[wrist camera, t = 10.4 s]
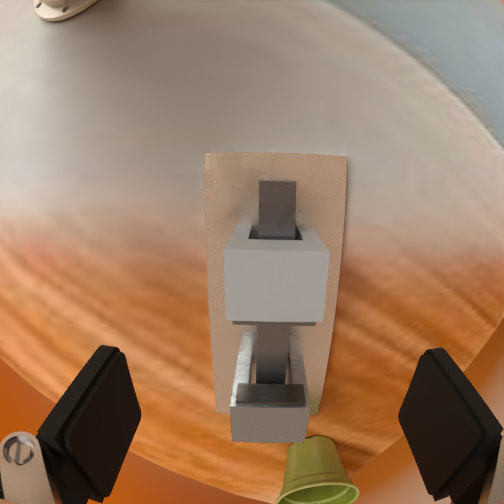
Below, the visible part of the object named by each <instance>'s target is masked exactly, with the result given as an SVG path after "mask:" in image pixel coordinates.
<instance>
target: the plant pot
mask: <svg viewBox="0 0 504 504" xmlns="http://www.w3.org/2000/svg"><path fill="white" fill-rule="evenodd" d="M358 496H359V488H358V487H357V486H356V485H354V484H353V482H352V481H351V479H350V478H349V477H348V475H347V473H346V470H345V468H344V466H343V463H342V461H341V458H340V456H339V453H338V451H337V448H336V445H335V443H334V442H333V440H331V439H330V438H327V437H323V436H314V437H312V438H307V439H305V440H304V442H302V443H293V444H292V445H291V446H290V447H289V448H288V452H287V461H286V469H285V476H284V483H283V489H282V490H281V492H280V496H279V497H278V498H277V500H276V504H352V503H353V502H354V501H355V500H356V499H357V498H358Z"/></svg>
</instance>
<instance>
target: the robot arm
mask: <svg viewBox="0 0 504 504" xmlns="http://www.w3.org/2000/svg"><path fill="white" fill-rule="evenodd" d="M96 1H97V0H34V10H35V13H36V14H37V16H39V17H41V18H42V19H44V20H47V21H59V20H64V19H66V18H69V17H72V16H74V15H75V14H77V13H80V12H81V11H83V10H84V9H86V8H87V7H89V6H90V5H92V4H93V3H94V2H96ZM398 418H399V422H400V425H401V427H402V429H403V432H404V434H405V436H406V439H407V441H408V444H409V446H410V448H411V450H412V453H413V456H414V458H415V461H416V463H417V466H418V468H419V471H420V474H421V476H422V479H423V481H424V484H425V487H426V489H427V492H428V493H429V494H430V495H433V498H434V500H435V501H437V500H440V499H443V498H445V497H448V496H449V495H450V498H451V500H452V501H451V504H504V436H503V437H502V435H501V434H500V433H501V432H502V430H503V428H502V426H501V425H500V423H499V422H498V420H497V419H496V417H495V416H494V414H493V413H492V411H491V410H490V409H489V407H488V406H487V404H486V403H485V402H484V400H483V399H482V397H481V396H480V395H479V394H478V392H477V391H476V389H475V388H474V387H473V385H472V384H471V383H470V381H469V380H468V379H467V378H466V376H465V375H464V373H463V372H462V371H461V369H460V368H459V367H458V366H457V364H456V363H455V362H454V361H453V359H452V358H451V357H450V355H449V354H448V353H447V352H446V350H445V349H443V348H435V349H428V350H426V351H425V353H424V354H423V355H421V356H420V359H419V362H418V364H417V367H416V370H415V373H414V376H413V378H412V381H411V384H410V386H409V389H408V391H407V394H406V396H405V399H404V401H403V404H402V406H401V408H400V411H399V415H398ZM140 420H141V409H140V406H139V403H138V400H137V397H136V393H135V390H134V387H133V383H132V380H131V376H130V372H129V369H128V365H127V361H126V357H125V354H124V353H122V352H120V350H119V348H117V347H112V346H105V345H101V346H100V347H98V349H97V350H96V351H95V353H94V354H93V355H92V357H91V358H90V359H89V360H88V362H87V363H86V364H85V366H84V367H83V368H82V370H81V371H80V372H79V374H78V375H77V376H76V378H75V379H74V380H73V382H72V383H71V385H70V386H69V387H68V389H67V390H66V391H65V393H64V394H63V396H62V397H61V398H60V400H59V401H58V402H57V404H56V405H55V407H54V408H53V410H52V411H51V412H50V414H49V415H48V417H47V418H46V420H45V421H44V423H43V424H42V425H41V427H40V429H39V430H38V434H37V435H36V437H34V436H33V435H32V434H30V433H28V432H23V431H21V432H14V433H11V434H10V435H8V436H7V437H5V438H4V439H3V440H2V442H1V444H0V504H87V502H88V499H91V500H94V501H97V502H100V503H103V500H104V497H109V496H110V494H111V492H112V489H113V487H114V484H115V482H116V479H117V476H118V474H119V471H120V469H121V466H122V463H123V461H124V459H125V456H126V454H127V451H128V449H129V447H130V444H131V442H132V439H133V437H134V434H135V432H136V430H137V427H138V425H139V422H140Z"/></svg>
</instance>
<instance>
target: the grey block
mask: <svg viewBox="0 0 504 504" xmlns="http://www.w3.org/2000/svg"><path fill="white" fill-rule="evenodd" d="M329 256H330V251H329V250H328V249H327V247H326V246H325V244H324V243H323V241H322V240H321V239H320V237H319V236H318V234H317V233H316V232H315V230H314V229H313V228H310V227H297V240H261V239H251V226H236V227H235V229H234V231H233V233H232V235H231V237H230V239H229V241H228V243H227V245H226V246H225V248H224V281H225V317H226V320H231V321H232V323H233V325H260V326H316V322H323V316H324V308H325V299H326V289H327V279H328V268H329Z"/></svg>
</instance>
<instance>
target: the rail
mask: <svg viewBox="0 0 504 504" xmlns="http://www.w3.org/2000/svg"><path fill="white" fill-rule="evenodd" d="M346 175H347V157H346V156H333V155H316V154H295V153H205V226H206V259H207V284H208V304H209V322H210V338H211V352H212V366H213V379H214V391H215V402H216V413H228V414H231V432H232V441H236V442H258V443H302V442H304V440H305V435H306V430H307V425H308V420H309V415H318V411H319V407H320V402H321V397H322V392H323V386H324V381H325V375H326V370H327V364H328V358H329V352H330V345H331V339H332V332H333V325H334V318H335V310H336V302H337V294H338V285H339V276H340V266H341V256H342V244H343V231H344V217H345V199H346ZM236 226H251V239H261V240H297V227H310V228H313V229H314V230H315V232H316V233H317V234H318V236H319V237H320V239H321V240H322V241H323V243H324V244H325V246H326V247H327V249H328V250H329V251H330V256H329V268H328V279H327V289H326V299H325V308H324V316H323V322H316V326H260V325H233V323H232V321H231V320H226V317H225V281H224V248H225V246H226V245H227V243H228V241H229V239H230V237H231V235H232V233H233V231H234V229H235V227H236Z"/></svg>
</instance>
